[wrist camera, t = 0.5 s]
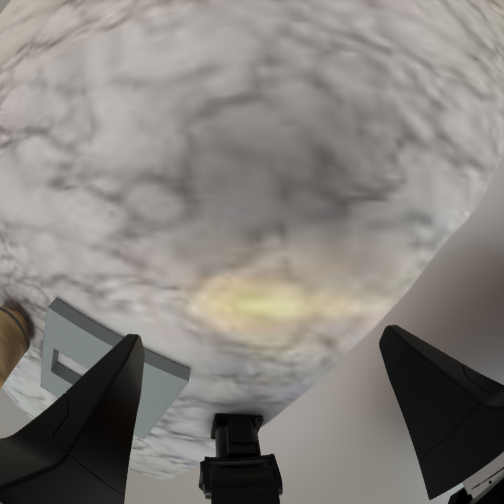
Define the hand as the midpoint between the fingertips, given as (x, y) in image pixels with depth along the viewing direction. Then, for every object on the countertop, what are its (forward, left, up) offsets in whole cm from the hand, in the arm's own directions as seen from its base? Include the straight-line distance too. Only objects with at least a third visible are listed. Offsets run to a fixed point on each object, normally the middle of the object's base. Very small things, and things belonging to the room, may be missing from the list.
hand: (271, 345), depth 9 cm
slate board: (-20, +14, -15) cm, 28 cm away
